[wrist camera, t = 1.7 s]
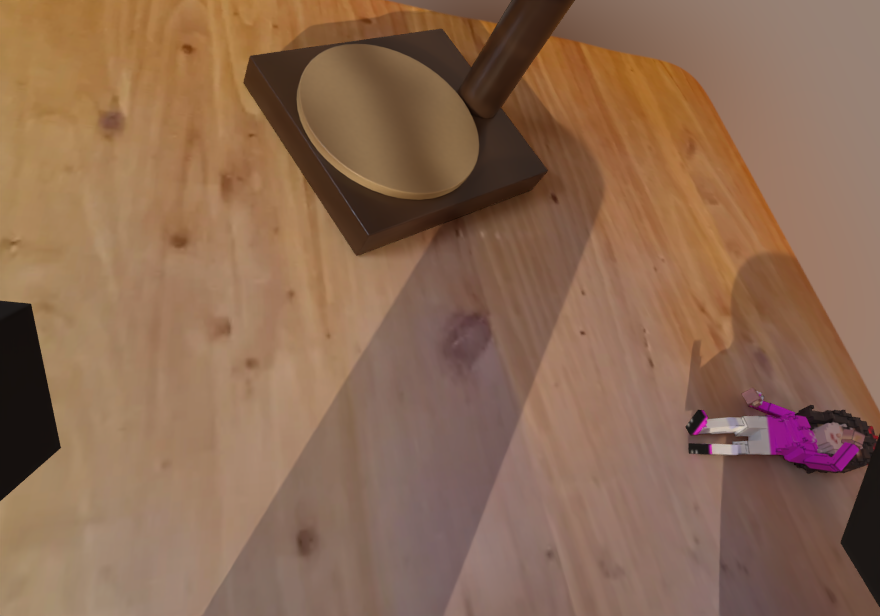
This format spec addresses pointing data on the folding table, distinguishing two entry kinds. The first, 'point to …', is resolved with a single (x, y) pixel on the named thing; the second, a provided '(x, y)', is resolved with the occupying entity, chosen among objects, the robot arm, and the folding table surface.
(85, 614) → the folding table surface
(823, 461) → the character figurine
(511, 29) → the mug stand
